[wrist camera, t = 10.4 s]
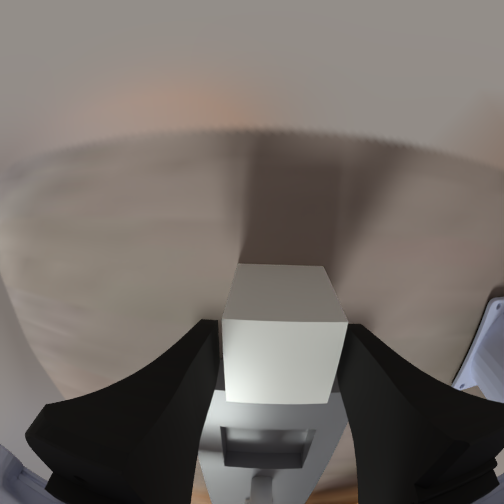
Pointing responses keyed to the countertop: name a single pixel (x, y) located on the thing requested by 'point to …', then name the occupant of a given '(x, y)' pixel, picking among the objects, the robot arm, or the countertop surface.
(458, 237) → the countertop surface
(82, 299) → the countertop surface
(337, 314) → the plug
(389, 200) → the countertop surface
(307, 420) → the grey recessed block
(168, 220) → the countertop surface
